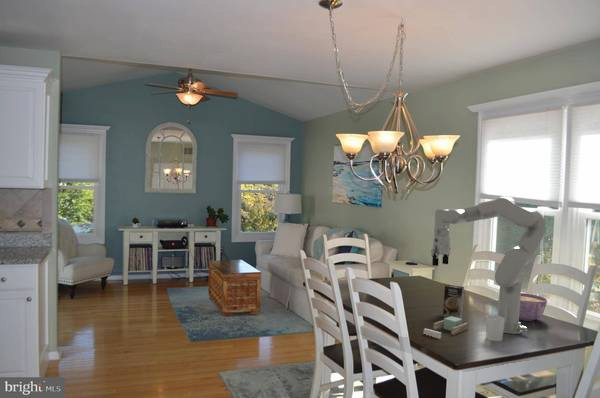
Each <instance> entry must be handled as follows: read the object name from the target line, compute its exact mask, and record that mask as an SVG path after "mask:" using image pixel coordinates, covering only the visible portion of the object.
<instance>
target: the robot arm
mask: <svg viewBox="0 0 600 398" xmlns="http://www.w3.org/2000/svg"><path fill="white" fill-rule="evenodd" d="M498 217H502V219H505V220H507V221H509V223H512V224H513V225H515V226H517V227H519V228H524V229H525V230H524V232H523V233H522V234H521V236H520V238H519V240H518V242H517V243H516V245H515V246H514V247H511V248H510V249H508V250H507V252H505V254H504V256H503V258H502V259H501V262H500V264H499V265H498V267H497V268H496V270H495V272H494V281H495V283H496V285H498V286H499V292H498V293H499V294H498V306H497V307H498V308H497V316H501V317H503V318H505V322H504V330H503V334H508V335H509V334H510V335H511V334H512V335H517V334H518V335H519V334H521V333H522V332H528V327H527V326H525V325H522V322H521V321H520V319H519V311H520V297H521V293H522V287H523V286H522V285H523V283H524V282H523V281H524V280H523V279H524V278H523V277H524V276H523V275H524V274H523V271H522V270H523V268H524V267H525V266H527V265H528V264H531V263H530V262H531V261H532V259H533V257H534V255H535V253H536V251H537V250H538V247H539V246H540V244H541V242H542V240H543V238H544V237H545V235H546V228H547V227H546V221H545V218H544V217H543V215H542V214H541V213H540V212H539V211H538V210H537V209H533V208H524V207H522V206H520V205H518V204H517V202H516V200H515V199H513V198H512V197H510V196H501V197H498V198H496V199H491V200H486V201H481V202H479V203H478V204H476V205H474V206H469V207H465V208H457V209H446V208H437V209H435V211H434V227H433V228H434V232H433V235H434V236H433V241H432V248H431V249H430V252H431V254H430V255H431V258H432V262H431V265H432V266H434V267H435V266H436V267H439V261H440V260H439V256H440V255H441V256H442V260H441V261H442V262H441V263H442V265H449V257H450V253H451V238H450V225H459V224H465V223H467V224H468V223H470V222H475V221H482V220H483V221H484V220H488V219H489V220H490V219H492V218H498Z"/></svg>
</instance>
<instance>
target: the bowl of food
mask: <svg viewBox="0 0 600 398" xmlns="http://www.w3.org/2000/svg"><path fill="white" fill-rule="evenodd" d="M547 304H548V299H547V298H546V297H544V296H541V295H538V294H532V293H523V292H521V297H520V311H519V321H520V320H521V321H526V322H533V321H534V320H537V319H540V318H541V317H542V316H543V314H544V312H545V310H546V307H547Z"/></svg>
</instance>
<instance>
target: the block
mask: <svg viewBox="0 0 600 398" xmlns="http://www.w3.org/2000/svg"><path fill="white" fill-rule="evenodd" d="M443 320H444V326H443V328H442V329H444V330H447V331H450V332H451V328H453V327H455V326H458V325H461V324H463V318H461V319H460V318H457V317H453V316H450V317H444V318H443Z"/></svg>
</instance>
